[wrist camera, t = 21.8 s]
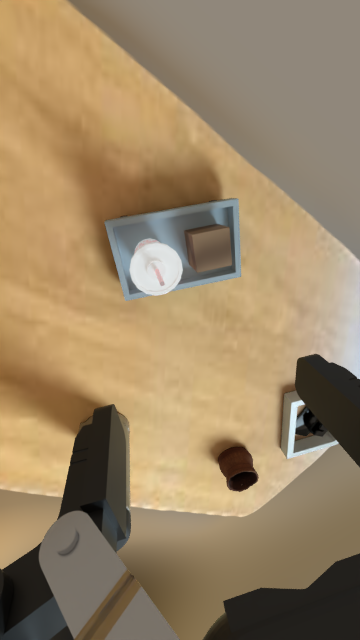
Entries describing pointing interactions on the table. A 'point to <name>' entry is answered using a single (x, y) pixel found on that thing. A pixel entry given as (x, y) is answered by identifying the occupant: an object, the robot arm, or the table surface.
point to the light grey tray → (289, 426)
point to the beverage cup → (155, 267)
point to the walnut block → (208, 247)
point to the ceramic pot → (238, 468)
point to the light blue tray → (174, 240)
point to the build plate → (309, 424)
